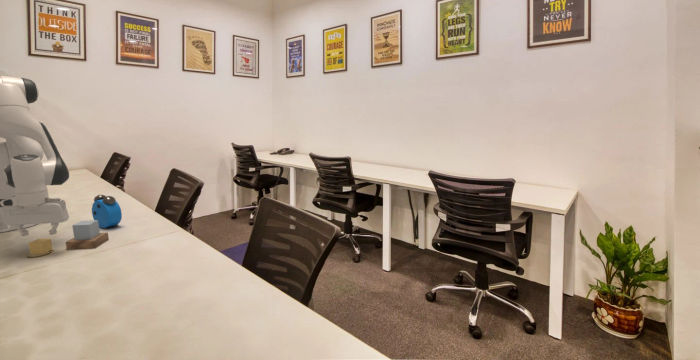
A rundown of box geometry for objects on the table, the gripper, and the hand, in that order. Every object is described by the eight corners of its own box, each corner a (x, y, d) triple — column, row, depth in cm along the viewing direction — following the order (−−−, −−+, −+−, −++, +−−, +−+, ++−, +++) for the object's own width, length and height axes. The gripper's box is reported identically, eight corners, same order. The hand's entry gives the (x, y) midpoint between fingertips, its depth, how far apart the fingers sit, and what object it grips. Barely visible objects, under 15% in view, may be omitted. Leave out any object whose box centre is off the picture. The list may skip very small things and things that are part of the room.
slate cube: (74, 240, 135) (72, 225, 134) (83, 234, 141) (81, 220, 140) (91, 239, 136) (89, 224, 135) (99, 234, 142) (97, 220, 141)
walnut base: (66, 249, 133) (65, 242, 133) (82, 240, 143) (81, 233, 142) (95, 248, 135) (94, 240, 134) (108, 239, 144) (107, 232, 144)
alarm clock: (123, 226, 161) (120, 195, 158) (109, 230, 155) (105, 198, 152) (106, 223, 166) (102, 192, 163) (92, 226, 161) (88, 195, 158)
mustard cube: (30, 254, 129) (28, 243, 128) (39, 250, 133) (37, 238, 132) (44, 254, 129) (42, 242, 128) (52, 249, 134) (50, 238, 133)
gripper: (69, 195, 132) (75, 230, 134) (9, 198, 129) (15, 233, 131) (58, 199, 126) (64, 235, 128) (-6, 202, 123) (1, 239, 125)
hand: (39, 234), depth 130 cm, fingers open, 8 cm apart
